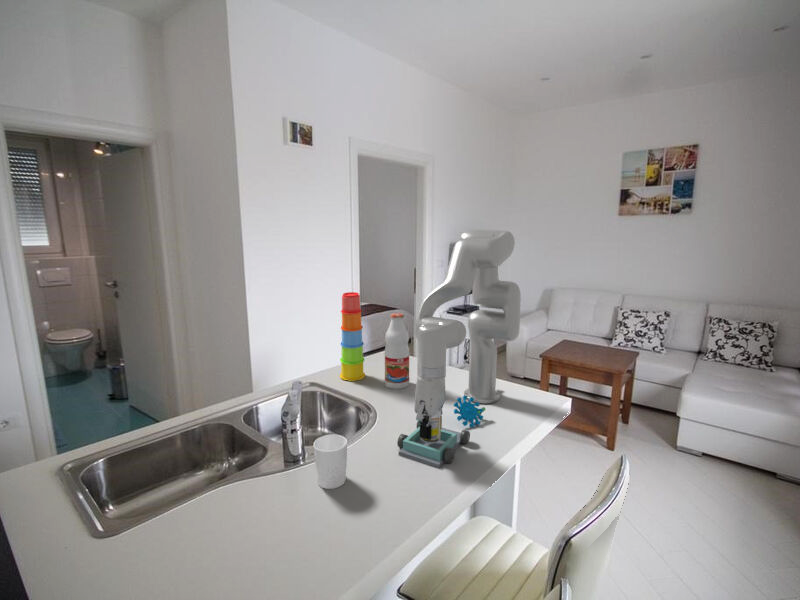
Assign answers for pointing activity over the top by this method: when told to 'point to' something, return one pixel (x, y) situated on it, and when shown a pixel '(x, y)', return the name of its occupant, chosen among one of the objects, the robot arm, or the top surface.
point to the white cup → (330, 460)
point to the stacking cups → (351, 338)
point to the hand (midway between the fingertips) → (430, 432)
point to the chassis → (432, 446)
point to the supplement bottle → (434, 427)
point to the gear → (468, 411)
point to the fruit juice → (396, 353)
